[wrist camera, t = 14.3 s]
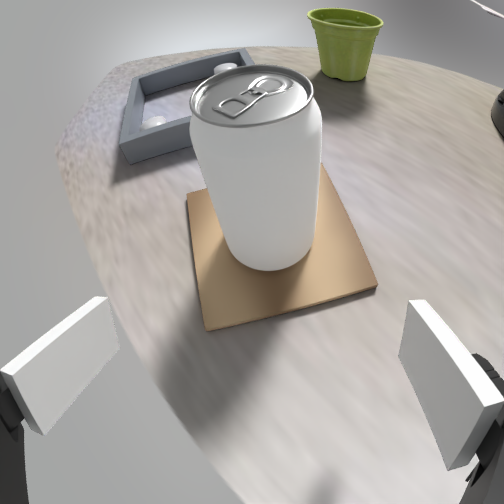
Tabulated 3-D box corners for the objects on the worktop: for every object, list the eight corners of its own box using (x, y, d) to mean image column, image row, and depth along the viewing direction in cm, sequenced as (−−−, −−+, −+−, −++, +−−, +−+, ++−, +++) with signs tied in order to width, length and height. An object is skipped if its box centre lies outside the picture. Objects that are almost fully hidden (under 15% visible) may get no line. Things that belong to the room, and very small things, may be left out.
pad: (321, 166, 26) (321, 162, 26) (376, 287, 20) (378, 284, 20) (188, 197, 26) (186, 193, 26) (206, 331, 20) (204, 329, 20)
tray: (247, 65, 38) (244, 48, 35) (278, 125, 30) (276, 101, 27) (139, 94, 38) (132, 78, 35) (129, 164, 30) (118, 144, 27)
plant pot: (297, 63, 37) (294, 9, 30) (354, 56, 38) (356, 6, 30) (329, 92, 32) (331, 28, 25) (390, 84, 33) (398, 27, 25)
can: (332, 230, 22) (351, 85, 12) (272, 292, 20) (250, 155, 10) (268, 187, 25) (250, 52, 15) (209, 238, 23) (154, 104, 13)
